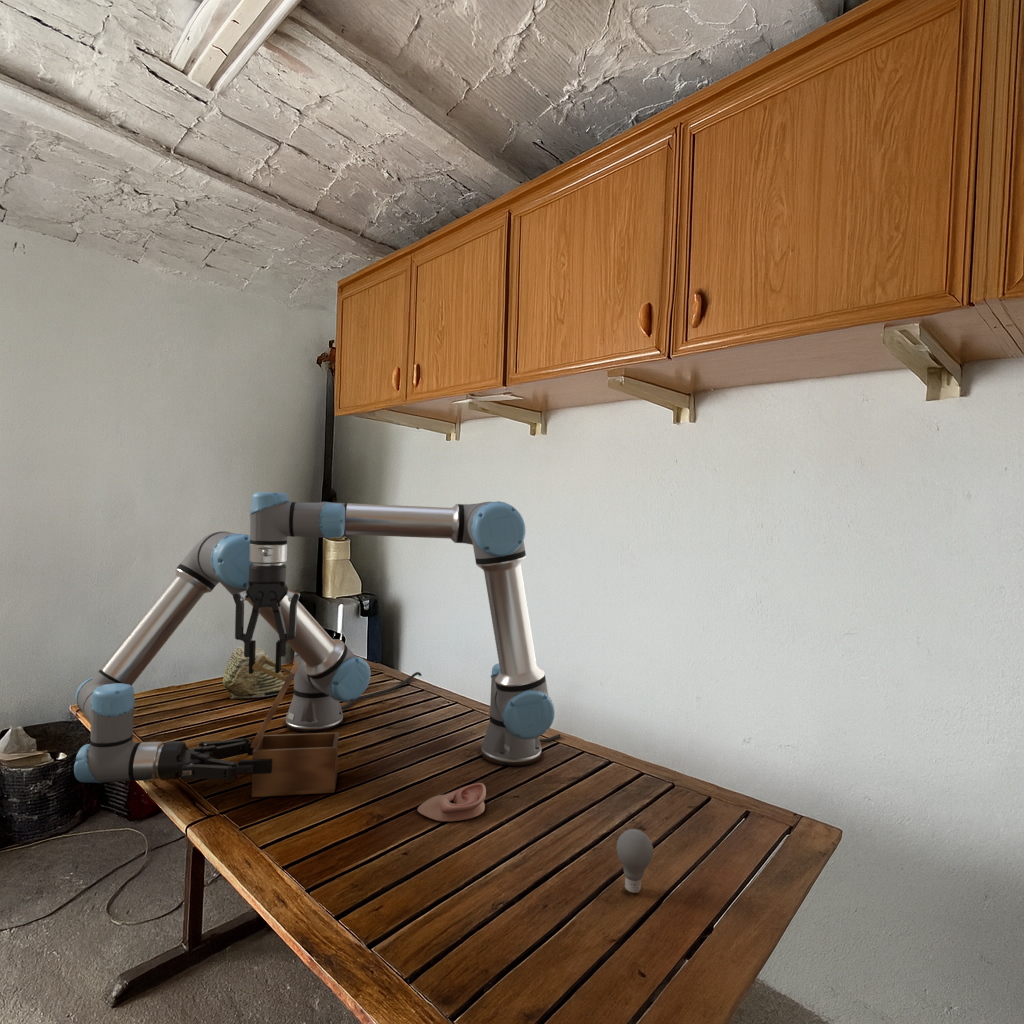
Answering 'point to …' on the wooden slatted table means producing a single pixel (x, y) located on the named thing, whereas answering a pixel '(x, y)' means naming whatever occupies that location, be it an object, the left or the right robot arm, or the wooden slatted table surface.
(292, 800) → the wooden slatted table surface
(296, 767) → the chest
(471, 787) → the anatomical model
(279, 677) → the lid
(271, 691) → the fossil
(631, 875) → the light bulb
